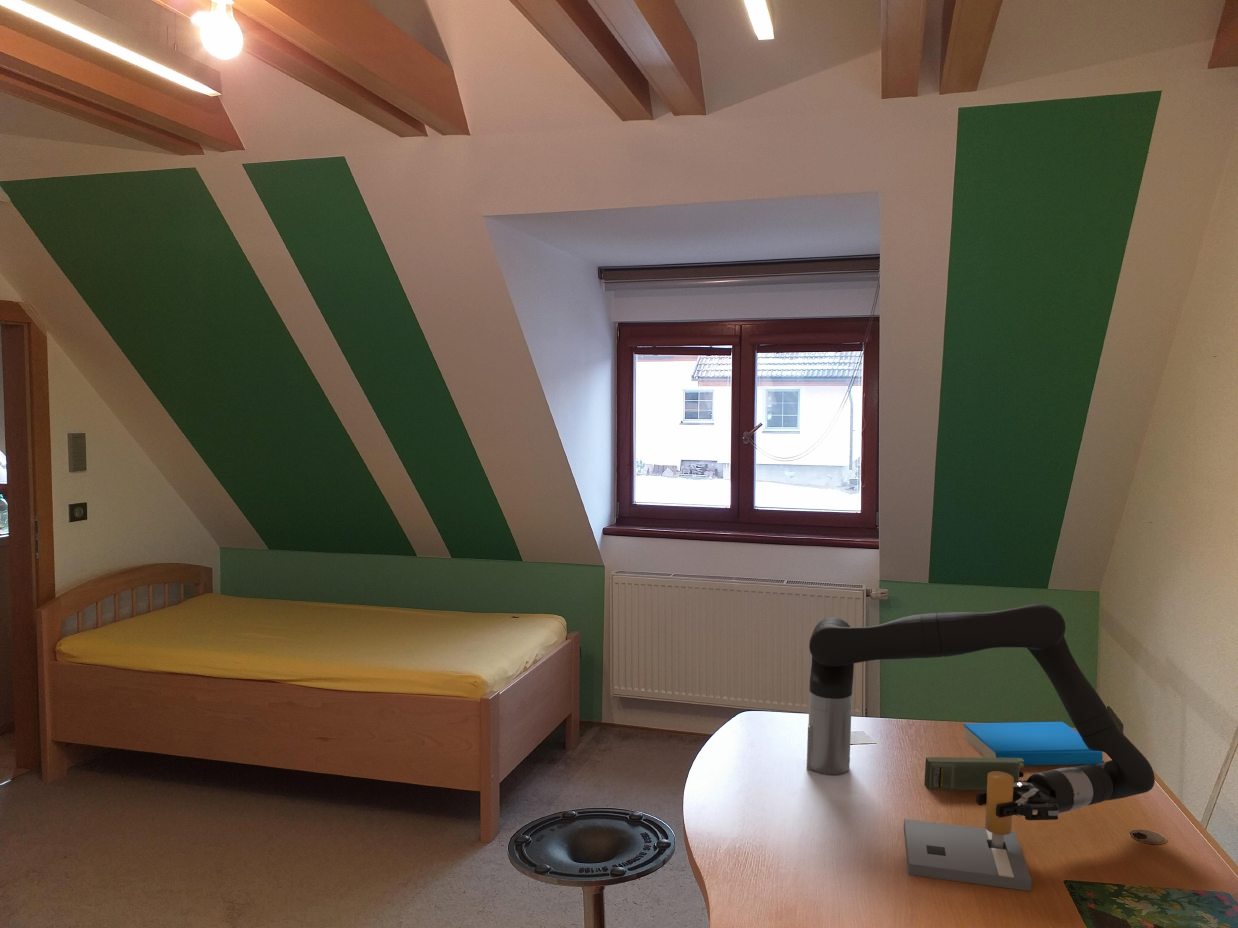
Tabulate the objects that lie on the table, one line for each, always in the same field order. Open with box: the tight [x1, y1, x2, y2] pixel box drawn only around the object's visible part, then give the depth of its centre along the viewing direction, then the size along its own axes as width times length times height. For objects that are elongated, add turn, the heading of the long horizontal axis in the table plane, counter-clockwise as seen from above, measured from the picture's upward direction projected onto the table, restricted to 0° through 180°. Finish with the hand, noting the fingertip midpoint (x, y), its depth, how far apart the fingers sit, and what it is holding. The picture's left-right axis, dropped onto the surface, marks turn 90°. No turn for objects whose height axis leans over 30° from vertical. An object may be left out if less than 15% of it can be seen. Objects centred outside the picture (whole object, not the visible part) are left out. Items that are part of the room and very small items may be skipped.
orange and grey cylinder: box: [984, 771, 1014, 849], centre depth 170 cm, size 4×4×14 cm
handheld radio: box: [923, 756, 1027, 791], centre depth 198 cm, size 7×3×25 cm
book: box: [963, 721, 1104, 767], centre depth 218 cm, size 17×4×25 cm
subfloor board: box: [903, 818, 1032, 892], centre depth 169 cm, size 20×17×2 cm
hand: (987, 805), depth 168 cm, fingers closed on orange and grey cylinder, 4 cm apart
